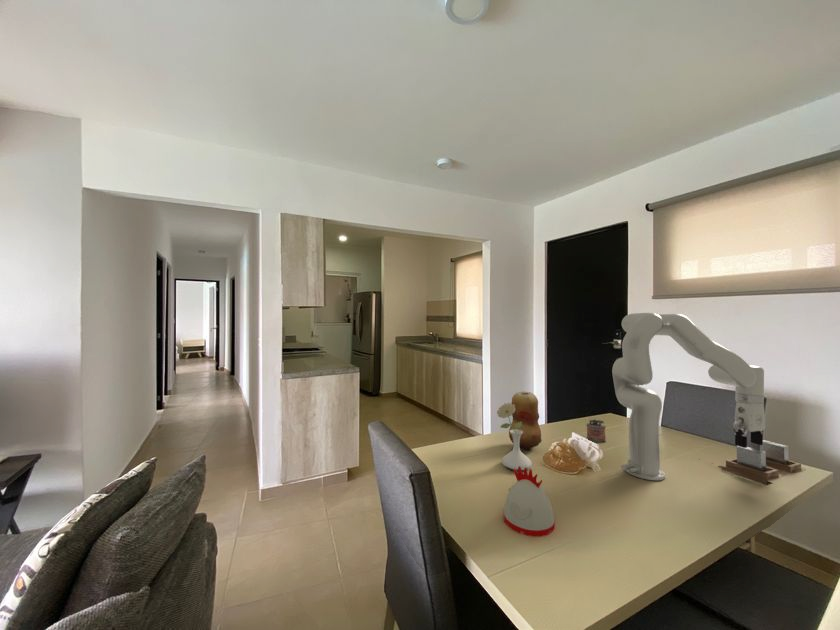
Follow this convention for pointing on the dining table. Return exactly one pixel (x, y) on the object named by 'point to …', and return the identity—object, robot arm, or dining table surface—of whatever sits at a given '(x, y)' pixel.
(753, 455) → the billet
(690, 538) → the dining table surface
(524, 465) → the flower in vase
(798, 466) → the brown flat slotted piece
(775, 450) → the block
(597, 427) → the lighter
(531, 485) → the kitchen timer
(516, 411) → the butternut squash
